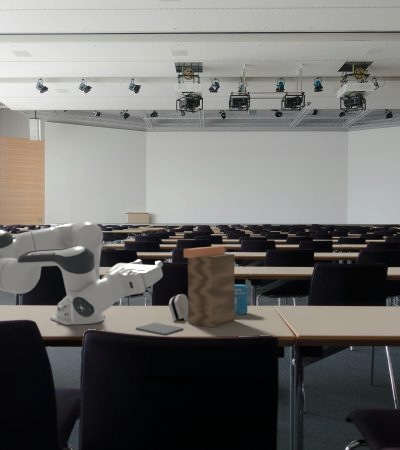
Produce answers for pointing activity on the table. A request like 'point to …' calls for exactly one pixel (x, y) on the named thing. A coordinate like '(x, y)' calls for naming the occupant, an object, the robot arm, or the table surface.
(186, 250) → the pin
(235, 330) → the table surface
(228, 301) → the brown block
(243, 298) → the data package
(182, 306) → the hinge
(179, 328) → the mat
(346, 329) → the table surface
